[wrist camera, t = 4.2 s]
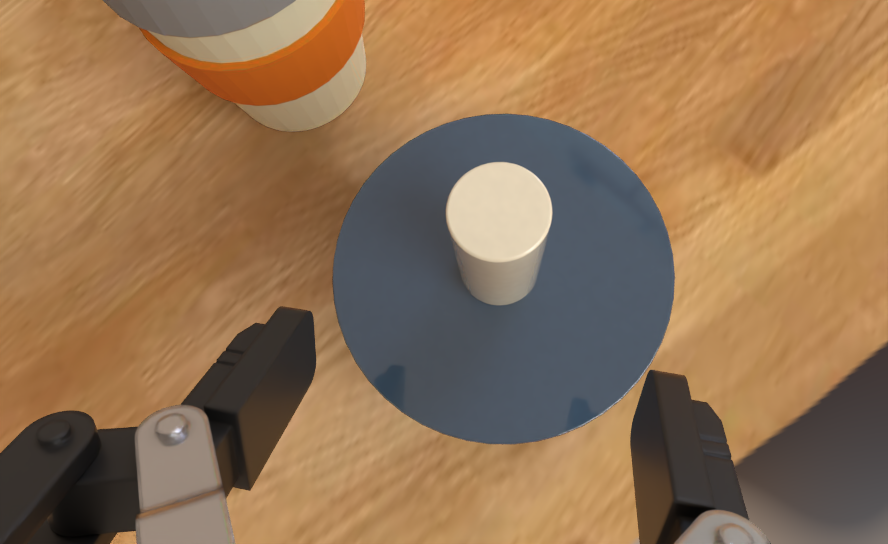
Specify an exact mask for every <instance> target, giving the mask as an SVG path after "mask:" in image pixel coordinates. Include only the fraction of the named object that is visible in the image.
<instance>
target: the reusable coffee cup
mask: <svg viewBox="0 0 888 544" xmlns="http://www.w3.org/2000/svg"><path fill="white" fill-rule="evenodd" d="M103 1H104V2H105V3H106V4H107V5H108V6H109V7H110V8H111V9H112V10H114V11H115V12H116V13H117V14H118V15H119V16H120V17H121V18H123V19H125V20H127V21H129V22H130V23H132V24H134V25H136V26H137V27H139V29H140V30H141V32H142V33H143V35H144V36H145V38H146V39H147V40H148V41H149V42H150V43H151V44H152V45H153V46H154V47H156V48H157V49H158V50H159V51H160V52H161V53H162V54H163V55H165V56H166V57H167V58H168V59H170V60H171V61H172V62H173V63H175V64H176V65H177V66H178V67H180V68H181V69H182V70H183V71H185V72H186V73H187V74H188V75H190V76H191V77H192V78H193V79H195V80H196V81H197V82H198V83H200V84H201V85H202V86H203V87H205V88H206V89H207V90H208V91H210V92H212V93H214V94H215V95H217V96H219V97H221V98H222V99H225V100H228V101H231V102H234V103H235V104H236V105H238V106H239V107H240V108H241V109H242V110H244V111H245V112H246V113H247V114H248V115H250V116H251V117H252V118H253V119H255V120H256V121H258V122H259V123H261V124H263V125H264V126H266V127H269V128H273V129H276V130H280V131H288V132H295V131H306V130H310V129H314V128H317V127H320V126H322V125H324V124H326V123H329V122H330V121H332V120H333V119H335V118H336V117H338V116H339V115H341V114H342V113H343V112H344V111H345V110H346V109H347V108H348V107H349V106H350V105H351V104H352V102H353V101H354V99H355V98H356V97H357V95H358V94H359V91H360V89H361V87H362V85H363V82H364V78H365V73H366V55H365V49H364V43H363V37H362V29H363V25H364V21H365V3H364V0H103Z"/></svg>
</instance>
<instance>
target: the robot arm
mask: <svg viewBox="0 0 888 544" xmlns="http://www.w3.org/2000/svg"><path fill="white" fill-rule="evenodd" d="M315 368H316V351H315V335H314V320H313V314H312V312H311V311H307V310H301V309H295V308H289V307H283V306H281V307H279V308H278V309H277V310H276V311H275V312H274V314H273V315H272V316H271V318H270V319H269V320H268V322H267V323H266V324H260V323H255V324H253V325H252V326H250V327H248V328H247V329H245V330H244V331H242V332H240V333H239V334H237V336H236V337H235V338H234V339H233V341H232V342H231V343H230V344H229V345H228V347H227V348H226V351H224V352H223V353H222V354H221V355H220V357H219V358H218V359H217V362H216V363H214V364H213V365H212V366H211V368H210V369H209V370H208V371H207V373H206V374H205V375H204V376H203V378H202V379H201V380H200V381H199V382H198V384H197V385H196V386H195V387H194V389H193V390H192V391H191V392H190V394H189V395H188V396H187V397H186V398H185V400H184V401H183V402H182V403H181V405H175V406H170V407H166V408H163V409H161V410H158V411H156V412H155V413H153V414H151V415H150V416H148V417H147V418H146V419H145V420H144V421H143V422H142V423H141V424H140V425H139V426H138V427H128V428H114V429H99V430H97V429H96V426H95V423H94V420H93V419H92V417H91V416H89V415H88V414H86V413H84V412H80V411H62V412H57V413H53V414H50V415H47V416H45V417H43V418H40V419H38V420H37V421H35V422H33V423H32V424H30V425H29V426H28V427H26V428H25V429H24V430H23V431H22V432H21V433H20V434H19V435H18V436H17V437H16V438H15V439H14V440H13V441H12V442H11V443H10V444H9V445H8V446H7V447H6V448H5V449H4V450H3V451H2V452H1V453H0V544H110V543H111V541H112V540H113V538H114V537H115V535H116V534H117V532H128V531H136V538H137V544H235V540H234V535H233V530H232V526H231V521H230V516H229V512H228V507H227V502H226V497H227V496H228V494H229V493H230V491H231V489H232V488H233V487H235V488H240V489H245V490H249V491H250V490H251V488H252V486H253V485H254V483H255V481H256V479H257V478H258V476H259V474H260V472H261V471H262V469H263V467H264V465H265V464H266V462H267V460H268V458H269V457H270V455H271V453H272V451H273V450H274V448H275V446H276V444H277V443H278V441H279V439H280V437H281V436H282V434H283V432H284V430H285V429H286V427H287V425H288V423H289V422H290V420H291V418H292V416H293V415H294V413H295V411H296V409H297V407H298V406H299V404H300V402H301V400H302V399H303V397H304V395H305V393H306V392H307V390H308V388H309V386H310V384H311V382H312V380H313V377H314V373H315ZM726 442H727V439H726V435H725V432H724V428H723V425H722V421H721V420H720V419H719V417H718V416H717V415H716V413H715V412H714V411H713V410H712V408H711V407H710V406H709V404H708V403H707V402H701V401H695V400H691V396H690V391H689V387H688V383H687V379H686V377H685V376H684V375H678V374H672V373H667V372H661V371H655V370H650V371H649V372H648V374H647V377H646V380H645V383H644V387H643V390H642V393H641V396H640V399H639V402H638V405H637V409H636V412H635V415H634V418H633V422H632V428H631V440H630V443H631V456H632V466H633V477H634V487H635V498H636V508H637V519H638V529H639V540H640V544H771V543H770V541H769V540H768V538H767V537H766V536H765V534H764V533H763V532H762V531H761V530H760V529H759V528H758V527H757V526H756V525H754V524H753V523H751V522H750V521H749V518H748V514H747V511H746V507H745V504H744V500H743V496H742V493H741V489H740V486H739V482H738V479H737V475H736V471H735V468H734V464H733V461H732V460H731V453H730V450H729V446H728V444H727V443H726Z"/></svg>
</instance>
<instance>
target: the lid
mask: <svg viewBox="0 0 888 544" xmlns="http://www.w3.org/2000/svg"><path fill="white" fill-rule="evenodd" d="M674 282H675V273H674V262H673V253H672V248H671V244H670V240H669V235H668V232H667V229H666V226H665V224H664V221H663V219H662V216H661V213H660V211H659V209H658V207H657V206H656V204H655V202H654V200H653V198H652V196H651V195H650V193H649V191H648V190H647V189H646V187H645V186H644V185H643V183H642V182H641V180H640V179H639V178H638V176H637V175H636V174H635V173H634V172H633V171H632V170H631V169H630V168H629V167H628V166H627V165H626V163H625V162H624V161H623V160H622V159H620V158H619V157H618V156H617V155H616V154H614V153H613V152H612V151H611V150H609V149H608V148H607V147H606V146H604V145H603V144H601V143H599V142H598V141H596V140H595V139H593V138H591V137H590V136H588V135H586V134H584V133H582V132H580V131H578V130H576V129H574V128H571V127H569V126H567V125H564V124H560V123H557V122H554V121H551V120H548V119H543V118H538V117H533V116H528V115H516V114H489V115H481V116H474V117H468V118H463V119H460V120H456V121H453V122H449V123H446V124H443V125H441V126H438V127H436V128H434V129H431V130H429V131H426V132H425V133H423V134H421V135H419V136H418V137H416V138H414V139H412V140H410V141H409V142H407V143H406V144H405V145H403V146H402V147H401V148H399V149H398V150H396V151H395V152H394V153H392V154H391V155H390V156H389V157H388V158H387V159H386V160H385V161H384V162H383V163H382V164H381V165H380V166H378V167H377V168H376V170H375V171H374V172H373V173H372V175H371V176H370V177H369V178H368V179H367V181H366V182H365V183H364V184H363V186H362V187H361V189H360V191H359V192H358V194H357V195H356V197H355V198H354V200H353V202H352V204H351V206H350V208H349V210H348V212H347V214H346V216H345V218H344V221H343V224H342V227H341V230H340V233H339V236H338V239H337V245H336V250H335V255H334V262H333V294H334V304H335V309H336V313H337V318H338V323H339V326H340V328H341V331H342V334H343V337H344V340H345V342H346V345H347V347H348V348H349V350H350V352H351V354H352V356H353V358H354V360H355V362H356V364H357V365H358V366H359V368H360V369H361V371H362V372H363V374H364V375H365V376H366V378H367V379H368V381H369V382H370V383H371V384H372V385H373V386H374V387H375V388H376V389H377V390H378V392H379V393H380V394H381V395H382V396H383V397H384V398H385V399H386V400H388V401H389V402H390V403H391V404H392V405H394V406H395V407H396V408H397V409H399V410H400V411H401V412H402V413H404V414H405V415H407V416H409V417H410V418H412V419H414V420H415V421H417V422H419V423H420V424H422V425H424V426H426V427H428V428H431V429H433V430H435V431H438V432H440V433H442V434H445V435H448V436H452V437H455V438H459V439H462V440H466V441H472V442H478V443H485V444H521V443H529V442H537V441H541V440H545V439H549V438H552V437H556V436H560V435H563V434H565V433H567V432H570V431H572V430H575V429H577V428H579V427H582V426H584V425H585V424H587V423H589V422H590V421H592V420H594V419H595V418H597V417H599V416H601V415H602V414H604V413H605V412H606V411H608V410H609V409H610V408H611V407H613V406H614V405H615V404H616V403H618V402H619V401H620V400H621V399H622V398H623V397H624V396H625V395H626V394H627V393H628V392H629V391H630V390H631V389H632V388H633V387H634V386H635V385H636V383H637V382H638V381H639V380H640V378H641V377H642V376H643V374H644V373H645V371H646V370H647V368H648V367H649V366H650V364H651V363H652V361H653V359H654V357H655V355H656V353H657V351H658V349H659V347H660V345H661V343H662V341H663V338H664V335H665V332H666V329H667V326H668V323H669V320H670V315H671V310H672V305H673V300H674Z"/></svg>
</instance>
